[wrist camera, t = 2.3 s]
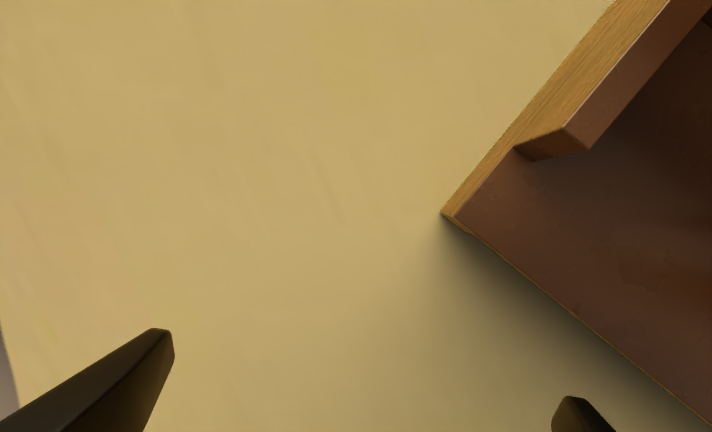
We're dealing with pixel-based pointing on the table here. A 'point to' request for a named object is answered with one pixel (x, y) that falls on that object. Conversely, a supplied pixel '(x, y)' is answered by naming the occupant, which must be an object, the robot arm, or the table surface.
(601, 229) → the shelf
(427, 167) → the table surface
